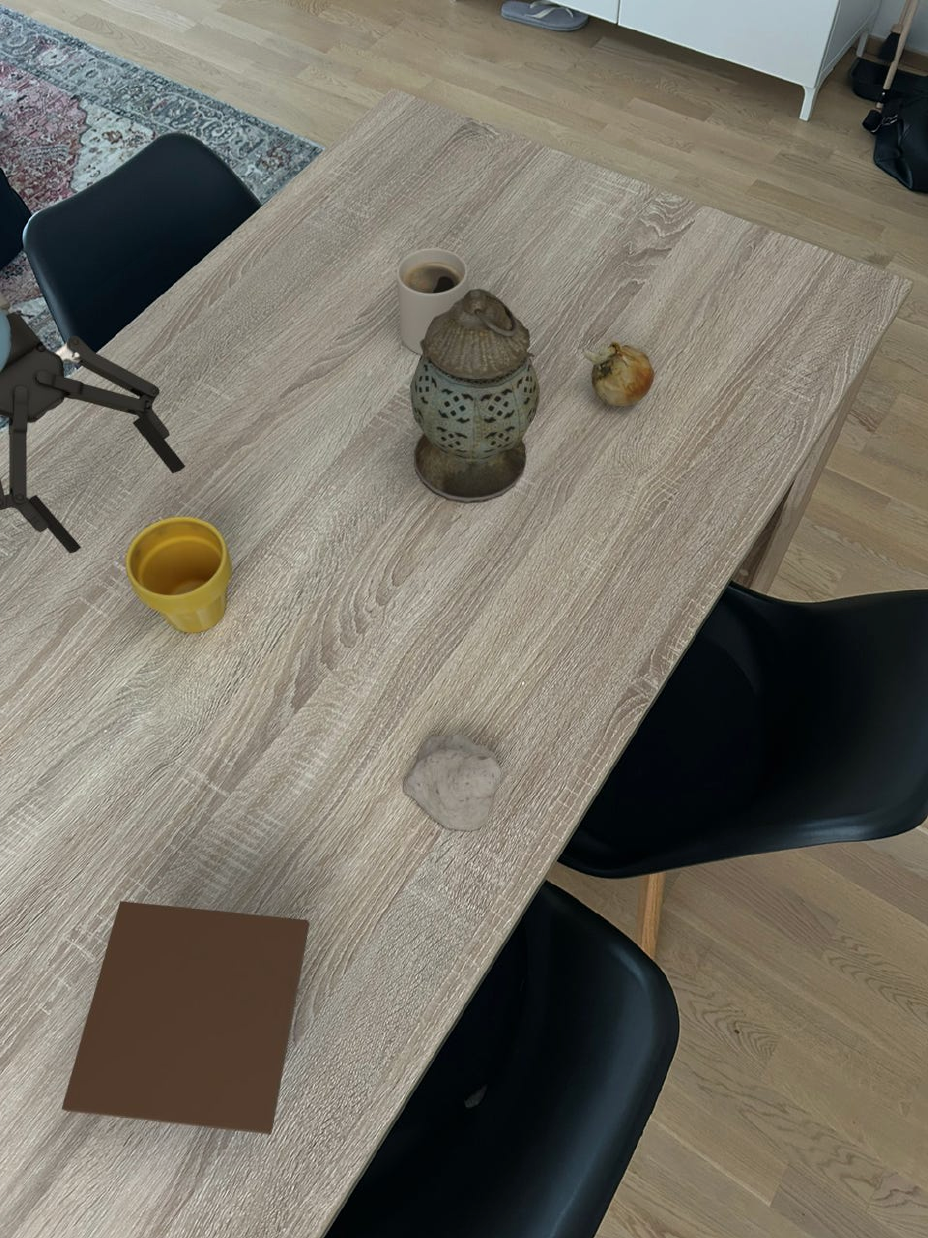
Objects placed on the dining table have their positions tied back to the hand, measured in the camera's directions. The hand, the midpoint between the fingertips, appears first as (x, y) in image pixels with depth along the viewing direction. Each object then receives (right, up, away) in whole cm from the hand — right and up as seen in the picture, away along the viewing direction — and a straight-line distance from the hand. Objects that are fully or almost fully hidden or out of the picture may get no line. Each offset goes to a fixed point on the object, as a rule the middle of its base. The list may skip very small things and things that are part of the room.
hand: (129, 509), depth 106 cm
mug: (+31, +27, +31) cm, 51 cm away
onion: (+54, +17, +24) cm, 61 cm away
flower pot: (+5, -10, +7) cm, 13 cm away
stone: (+33, -28, -4) cm, 43 cm away
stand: (+13, -47, -16) cm, 51 cm away
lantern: (+35, +8, +18) cm, 41 cm away
